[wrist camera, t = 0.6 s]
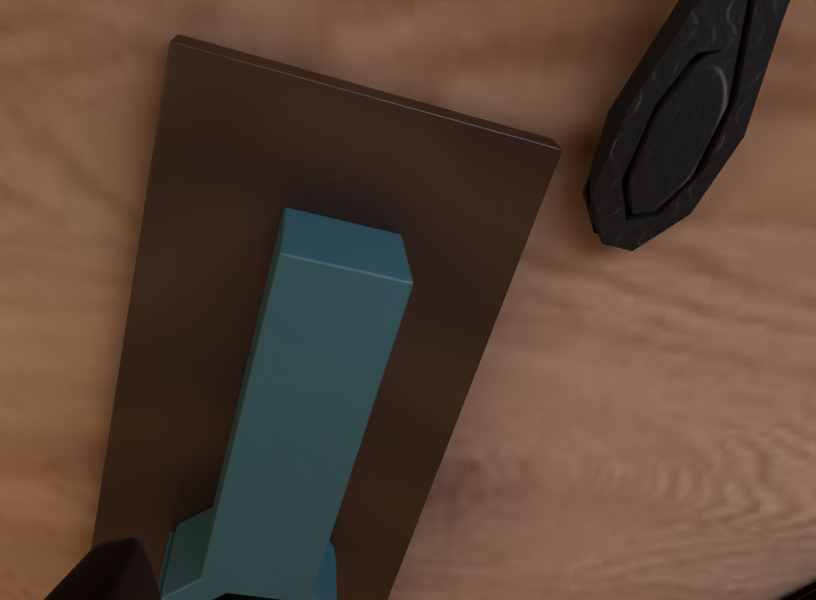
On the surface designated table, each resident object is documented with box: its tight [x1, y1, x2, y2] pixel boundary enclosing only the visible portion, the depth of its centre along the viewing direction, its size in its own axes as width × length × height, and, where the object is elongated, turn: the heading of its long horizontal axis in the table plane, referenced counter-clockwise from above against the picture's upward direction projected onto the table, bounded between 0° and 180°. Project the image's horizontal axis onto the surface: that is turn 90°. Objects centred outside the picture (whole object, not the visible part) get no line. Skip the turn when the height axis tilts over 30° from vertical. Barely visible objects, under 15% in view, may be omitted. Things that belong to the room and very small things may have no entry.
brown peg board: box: [91, 35, 562, 600], centre depth 21 cm, size 19×10×6 cm, turn 163°
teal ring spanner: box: [158, 208, 413, 600], centre depth 22 cm, size 15×5×3 cm, turn 163°
